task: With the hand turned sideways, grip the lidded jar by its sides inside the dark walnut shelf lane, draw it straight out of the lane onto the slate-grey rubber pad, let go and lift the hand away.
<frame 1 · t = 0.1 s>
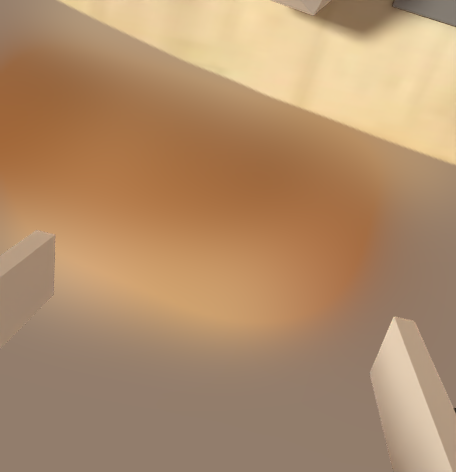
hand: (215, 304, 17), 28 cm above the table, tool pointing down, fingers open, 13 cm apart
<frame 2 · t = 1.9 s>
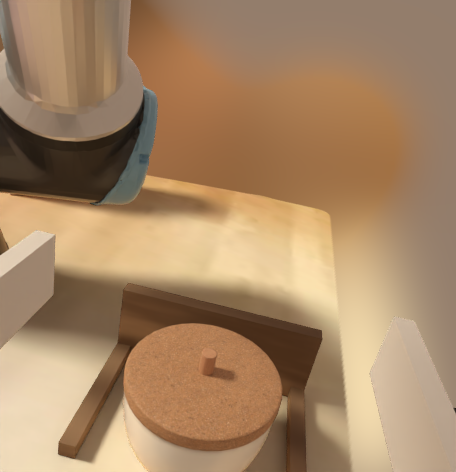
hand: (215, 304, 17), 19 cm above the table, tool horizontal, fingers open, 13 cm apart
shelf lane: (188, 449, 33), on the table
lidded jar: (187, 451, 33), on the table
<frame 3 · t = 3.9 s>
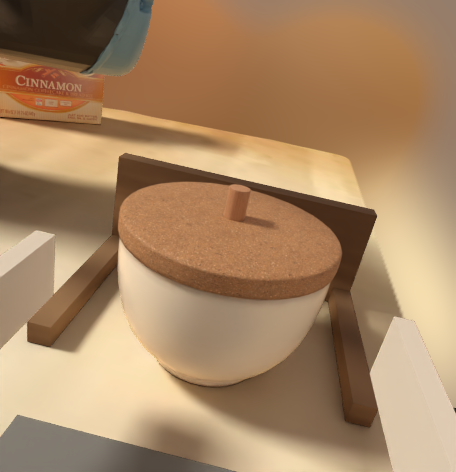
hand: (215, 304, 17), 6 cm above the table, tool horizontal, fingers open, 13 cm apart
coffeecake box: (45, 116, 64), on the table
shelf lane: (206, 345, 24), on the table
lidded jar: (205, 349, 24), on the table
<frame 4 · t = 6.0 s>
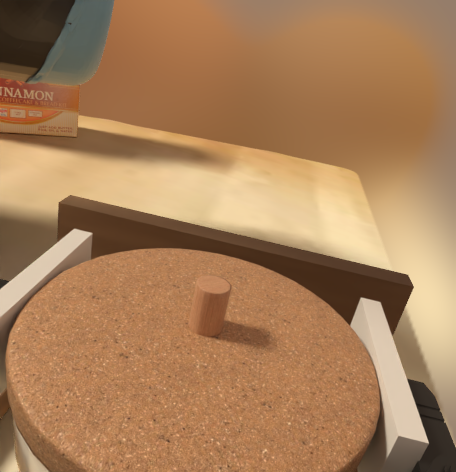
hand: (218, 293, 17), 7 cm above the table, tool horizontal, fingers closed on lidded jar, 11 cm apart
coffeecake box: (13, 128, 56), on the table
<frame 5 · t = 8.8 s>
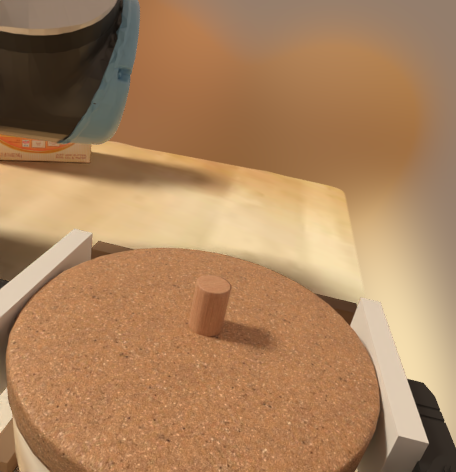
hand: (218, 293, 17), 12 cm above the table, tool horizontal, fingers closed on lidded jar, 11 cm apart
coffeecake box: (33, 155, 63), on the table
shelf lane: (175, 465, 23), on the table
when the fingers open (8 cm above the table, at t = 11.8 s): lidded jar stays where it is, resting on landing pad.
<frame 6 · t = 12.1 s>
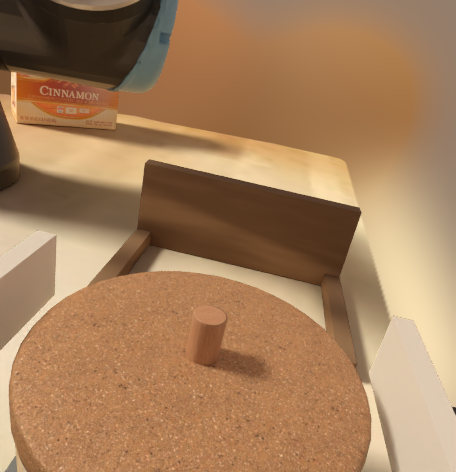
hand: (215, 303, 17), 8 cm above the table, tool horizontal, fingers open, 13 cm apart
coffeecake box: (64, 123, 70), on the table
shelf lane: (219, 317, 30), on the table
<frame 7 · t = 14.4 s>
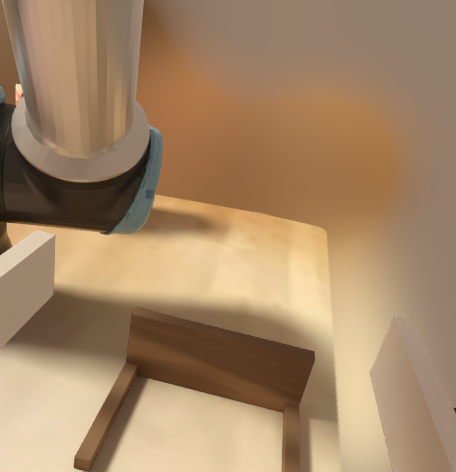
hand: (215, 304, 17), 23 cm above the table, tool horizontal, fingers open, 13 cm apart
shelf lane: (191, 463, 36), on the table
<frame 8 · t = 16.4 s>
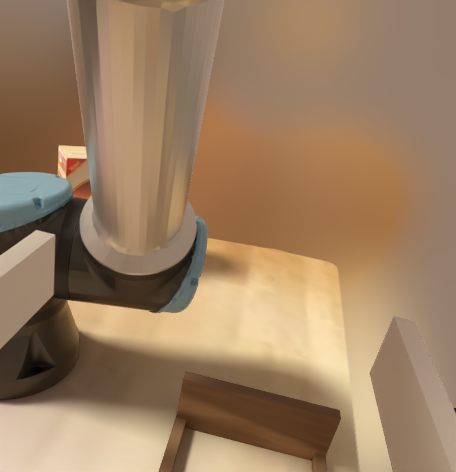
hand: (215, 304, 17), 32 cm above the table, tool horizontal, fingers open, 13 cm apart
coffeecake box: (99, 252, 83), on the table
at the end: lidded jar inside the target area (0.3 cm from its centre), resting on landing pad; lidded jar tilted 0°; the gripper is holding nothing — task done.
